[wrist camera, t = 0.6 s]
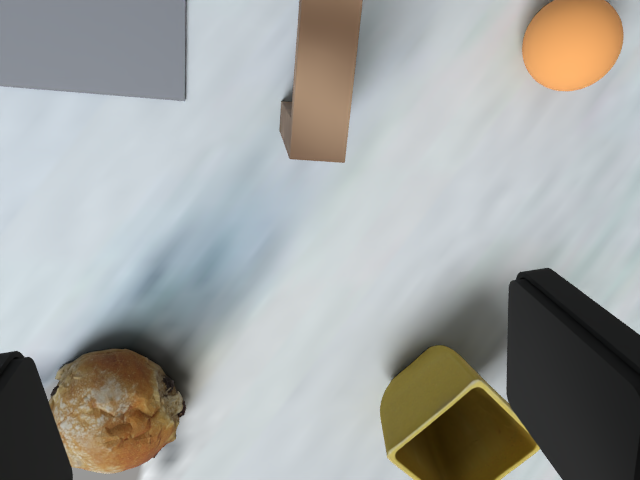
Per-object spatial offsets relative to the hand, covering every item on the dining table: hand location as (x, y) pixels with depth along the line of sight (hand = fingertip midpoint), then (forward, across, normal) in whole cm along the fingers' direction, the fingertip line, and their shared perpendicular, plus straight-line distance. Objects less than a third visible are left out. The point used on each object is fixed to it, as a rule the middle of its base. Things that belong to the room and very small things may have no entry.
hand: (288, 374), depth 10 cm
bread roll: (+30, +14, +20) cm, 38 cm away
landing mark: (+29, +9, -10) cm, 32 cm away
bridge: (+29, -4, -7) cm, 30 cm away
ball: (+26, -21, -4) cm, 34 cm away
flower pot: (+30, -12, +23) cm, 39 cm away
